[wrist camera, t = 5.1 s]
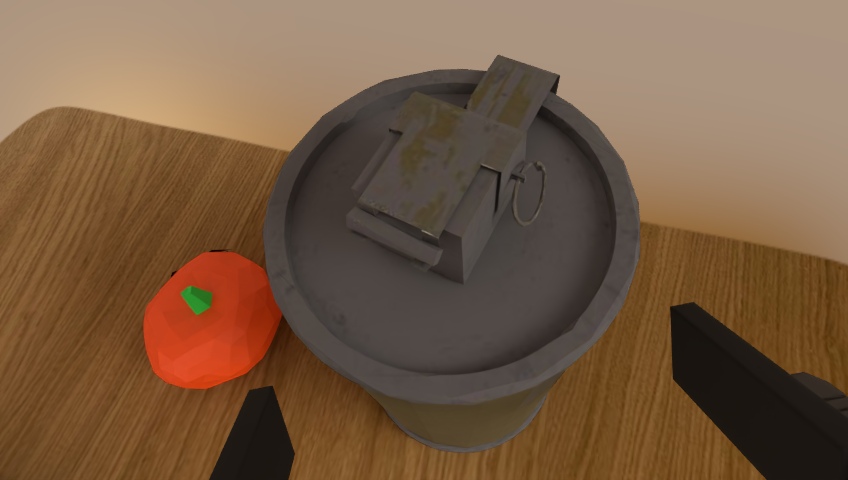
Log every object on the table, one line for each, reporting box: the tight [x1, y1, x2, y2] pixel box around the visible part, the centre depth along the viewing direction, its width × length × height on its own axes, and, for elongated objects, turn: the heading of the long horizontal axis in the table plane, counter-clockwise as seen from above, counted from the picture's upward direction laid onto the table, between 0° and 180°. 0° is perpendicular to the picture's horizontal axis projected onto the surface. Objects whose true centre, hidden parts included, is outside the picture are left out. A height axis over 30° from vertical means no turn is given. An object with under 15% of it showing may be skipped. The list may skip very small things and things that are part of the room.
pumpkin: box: [143, 249, 282, 389], centre depth 29 cm, size 7×8×6 cm
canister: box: [263, 55, 640, 453], centre depth 21 cm, size 11×10×20 cm
